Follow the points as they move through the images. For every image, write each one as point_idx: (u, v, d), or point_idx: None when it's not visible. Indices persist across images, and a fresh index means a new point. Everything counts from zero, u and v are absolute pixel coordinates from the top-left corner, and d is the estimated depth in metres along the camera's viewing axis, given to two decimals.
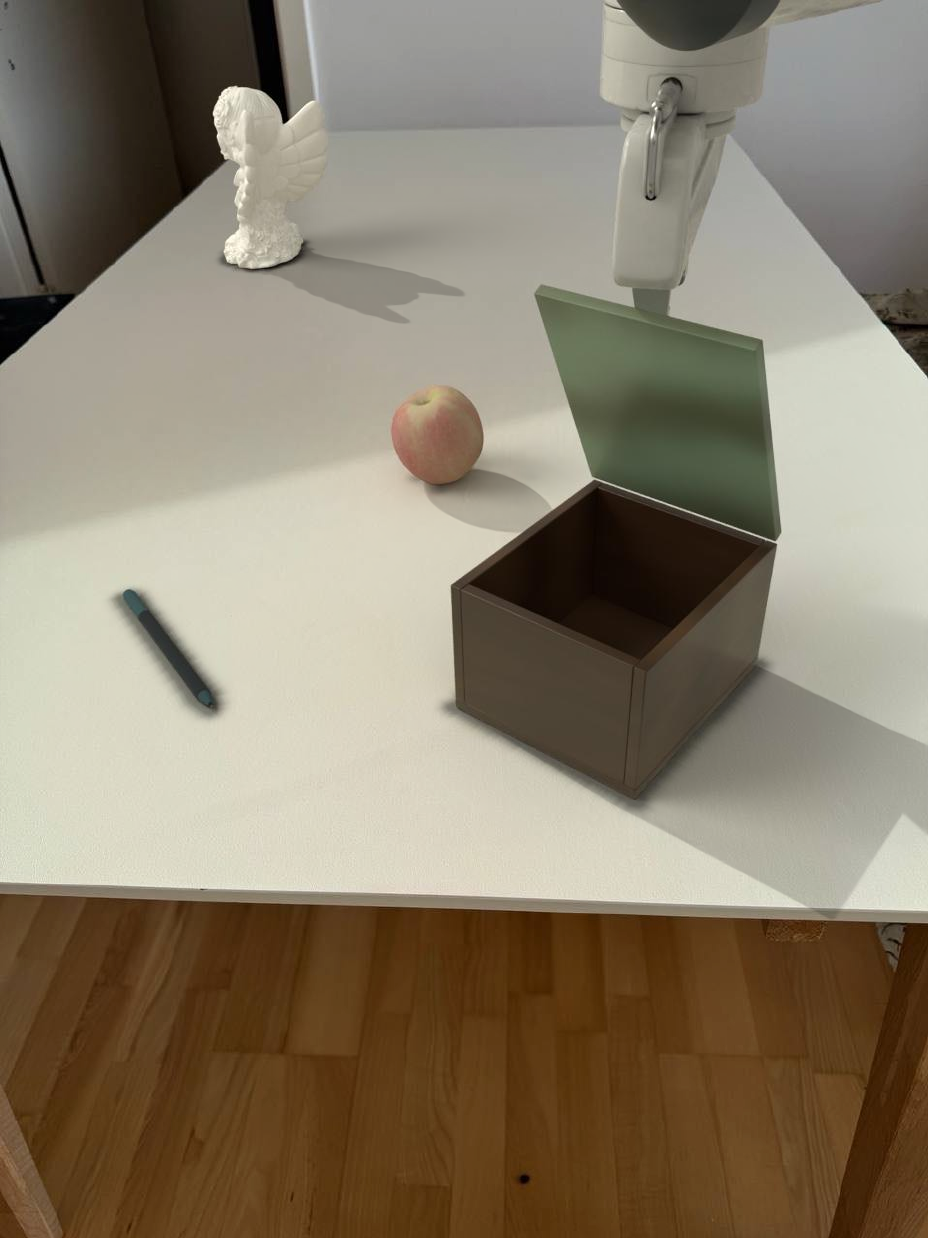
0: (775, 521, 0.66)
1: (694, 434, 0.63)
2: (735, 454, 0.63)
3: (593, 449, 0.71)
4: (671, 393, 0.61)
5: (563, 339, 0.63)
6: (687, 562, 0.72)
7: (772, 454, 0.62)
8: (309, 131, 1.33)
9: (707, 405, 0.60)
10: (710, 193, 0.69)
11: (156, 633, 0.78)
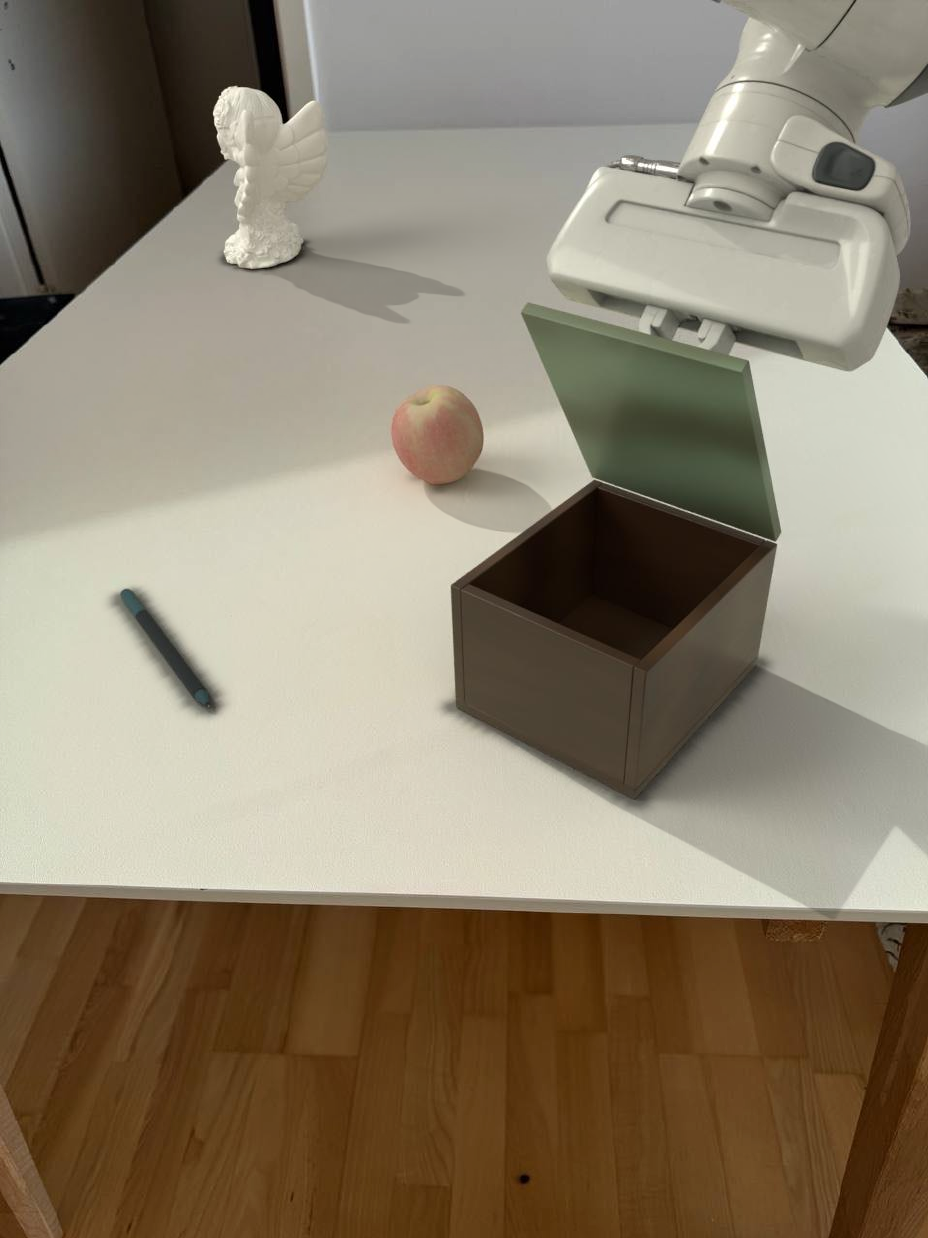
0: (774, 524, 0.66)
1: (688, 444, 0.63)
2: (729, 463, 0.62)
3: (591, 453, 0.71)
4: (662, 406, 0.61)
5: (553, 354, 0.63)
6: (687, 562, 0.72)
7: (766, 463, 0.61)
8: (309, 131, 1.33)
9: (699, 419, 0.60)
10: (785, 320, 0.58)
11: (153, 633, 0.77)
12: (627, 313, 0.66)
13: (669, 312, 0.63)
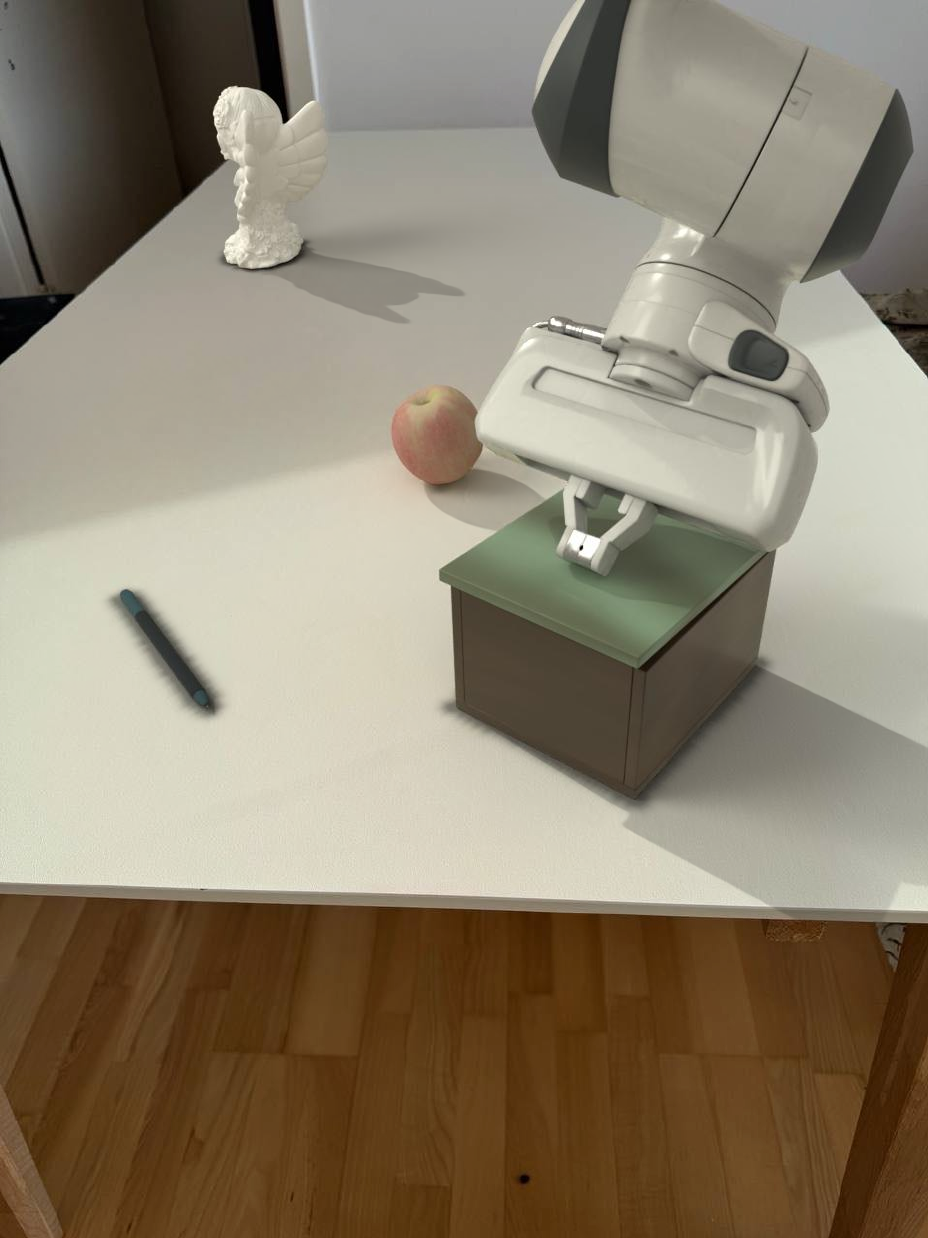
0: (764, 552, 0.67)
1: None
2: None
3: None
4: None
5: None
6: None
7: (719, 588, 0.63)
8: (309, 131, 1.33)
9: None
10: (702, 504, 0.58)
11: (152, 633, 0.77)
12: (555, 475, 0.67)
13: (593, 483, 0.63)
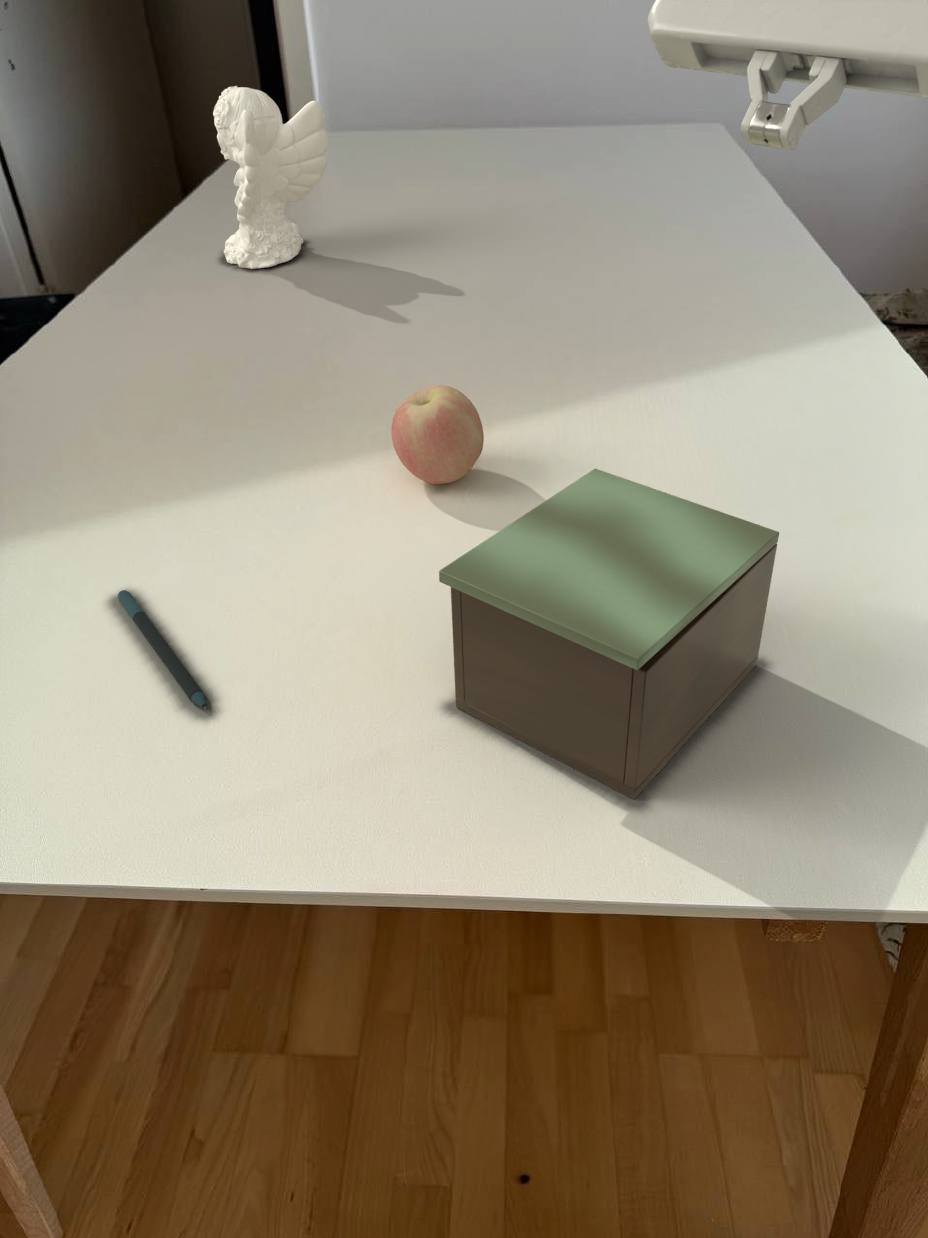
0: (764, 552, 0.67)
1: None
2: None
3: None
4: None
5: None
6: None
7: (718, 589, 0.63)
8: (309, 131, 1.33)
9: None
10: (905, 44, 0.57)
11: (150, 634, 0.77)
12: (730, 70, 0.65)
13: (778, 56, 0.62)
